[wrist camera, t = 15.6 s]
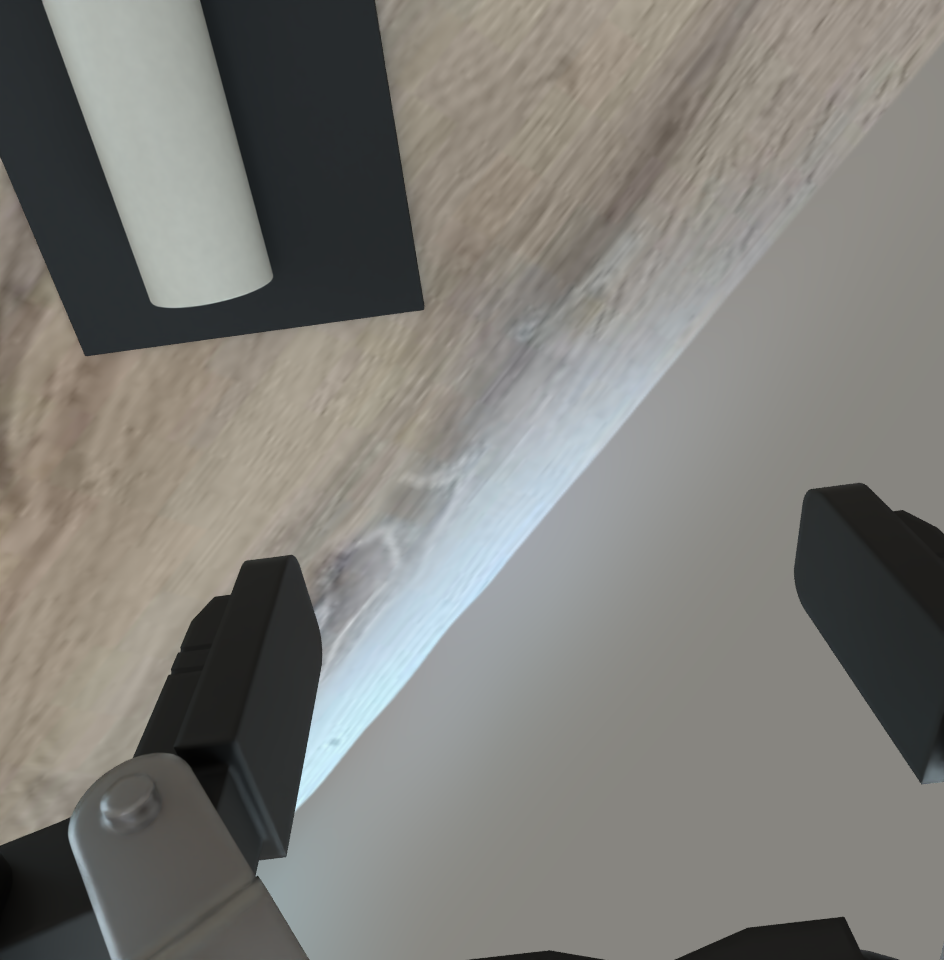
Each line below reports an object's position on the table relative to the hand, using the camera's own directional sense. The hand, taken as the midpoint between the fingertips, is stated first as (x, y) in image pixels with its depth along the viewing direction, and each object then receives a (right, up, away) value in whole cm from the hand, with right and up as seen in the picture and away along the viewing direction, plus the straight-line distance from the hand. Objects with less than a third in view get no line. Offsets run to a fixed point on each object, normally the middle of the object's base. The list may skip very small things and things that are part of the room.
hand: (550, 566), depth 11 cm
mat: (-14, +18, +21) cm, 31 cm away
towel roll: (-14, +18, +21) cm, 31 cm away
